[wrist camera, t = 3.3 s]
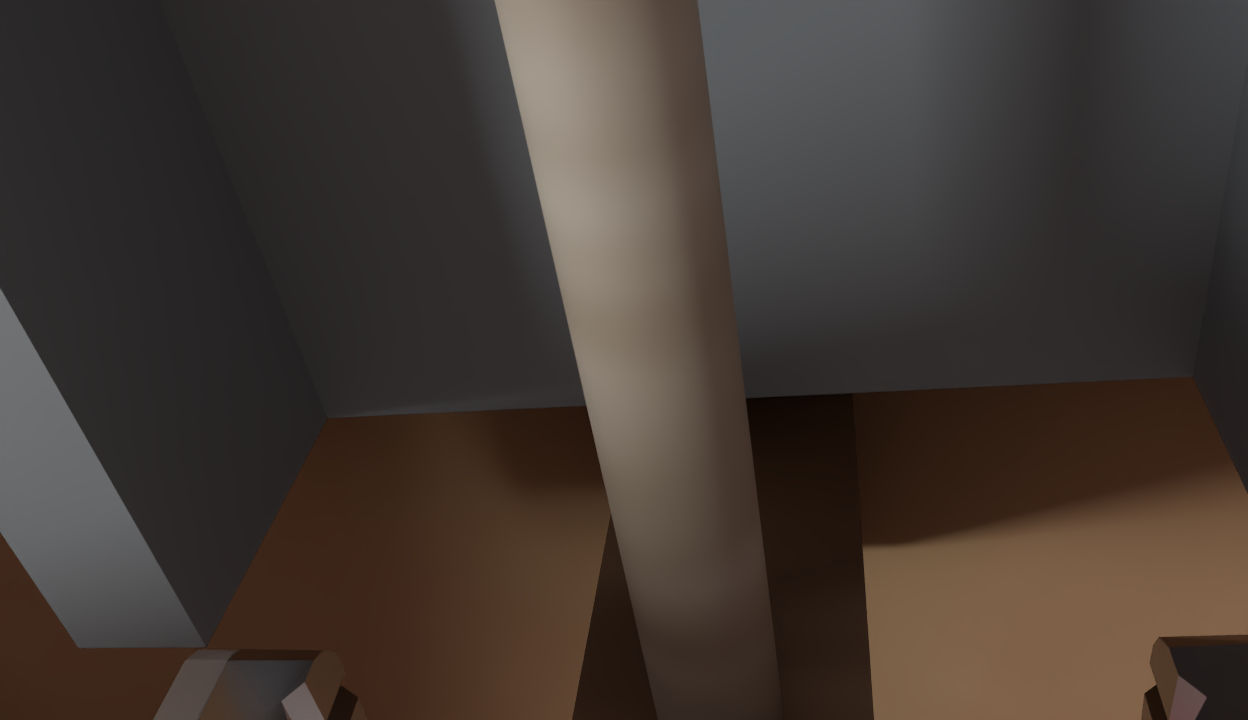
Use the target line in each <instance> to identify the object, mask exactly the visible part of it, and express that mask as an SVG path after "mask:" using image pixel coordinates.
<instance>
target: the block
mask: <svg viewBox="0 0 1248 720" xmlns="http://www.w3.org/2000/svg"><path fill="white" fill-rule="evenodd" d="M495 5H496V9H497V13H498V18H499V22H500V27H501V31H502V35H503V40H504V44H505V49H506V53H507V57H508V62H509V66H510V71H511V75H512V79H513V84H514V88H515V93H516V97H517V101H518V106H519V110H520V115H521V119H522V123H523V128H524V132H525V137H526V141H527V146H528V150H529V154H530V159H531V163H532V168H533V172H534V176H535V181H536V185H537V190H538V194H539V198H540V203H541V207H542V212H543V216H544V220H545V225H546V229H547V234H548V238H549V242H550V247H551V251H552V256H553V260H554V264H555V269H556V273H557V278H558V282H559V286H560V291H561V295H562V300H563V304H564V308H565V313H566V317H567V322H568V326H569V330H570V335H571V339H572V344H573V348H574V352H575V357H576V361H577V366H578V370H579V375H580V379H581V383H582V388H583V392H584V397H585V401H586V405H587V410H588V414H589V419H590V423H591V427H592V432H593V436H594V441H595V445H596V449H597V454H598V458H599V463H600V467H601V471H602V476H603V480H604V485H605V489H606V493H607V498H608V502H609V507H610V511H611V516H610V522H609V527H608V532H607V538H606V543H605V548H604V554H603V559H602V564H601V570H600V575H599V580H598V586H597V591H596V596H595V602H594V607H593V612H592V618H591V623H590V628H589V634H588V639H587V644H586V649H585V655H584V660H583V665H582V671H581V676H580V681H579V687H578V692H577V697H576V703H575V708H574V713H573V719H572V720H874V714H873V699H872V684H871V669H870V654H869V639H868V624H867V609H866V594H865V579H864V564H863V549H862V533H861V518H860V503H859V488H858V473H857V458H856V443H855V428H854V413H853V398H852V394H842V395H821V396H800V397H779V398H758V399H746V398H745V389H744V381H743V373H742V364H741V356H740V348H739V340H738V331H737V323H736V315H735V306H734V298H733V290H732V281H731V273H730V265H729V256H728V248H727V240H726V232H725V223H724V215H723V207H722V198H721V190H720V182H719V173H718V165H717V157H716V148H715V140H714V132H713V124H712V115H711V107H710V99H709V90H708V82H707V74H706V65H705V57H704V49H703V40H702V32H701V24H700V16H699V7H698V0H495Z"/></svg>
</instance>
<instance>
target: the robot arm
mask: <svg viewBox="0 0 1248 720" xmlns="http://www.w3.org/2000/svg"><path fill="white" fill-rule="evenodd" d="M1150 665H1151V669H1152V672H1153V675H1154V678H1155V681H1156V685H1155V686H1154V687H1152V688H1151V689H1150V690H1149V691H1147V692H1146V693H1145V694H1144V701H1143V709H1142V717H1141V719H1142V720H1248V635H1214V636H1177V637H1158V639H1157V640H1156V642H1155V643H1154V644H1153V648H1152V653H1151V659H1150ZM345 671H346V670H345V669H344V667H343V665H342V663H341V661H340V659H339V658H338V656H337V654H336V652H335V651H325V650H260V649H198V650H197V651H196V652H195V653H193V654H192V655H191V656H190V657H189V658H188V659H186V660H185V662H184V663H183V665H182V667H181V668H180V670H179V672H178V674H177V676H176V678H175V680H174V681H173V683H172V685H171V687H170V689H169V691H168V692H167V694H166V696H165V698H164V700H163V702H162V704H161V705H160V707H159V709H158V711H157V713H156V715H155V717H154V718H153V720H366V715H365V711H364V709H363V707H362V704H361V702H360V700H359V698H358V697H357V696H355V695H354V694H352V693H351V692H350V691H348V690H347V689H345V688H344V687H342V686H341V685H340V684H341V682H342V679H343V677H344V674H345Z"/></svg>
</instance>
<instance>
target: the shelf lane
mask: <svg viewBox="0 0 1248 720" xmlns="http://www.w3.org/2000/svg"><path fill="white" fill-rule="evenodd" d="M698 7H699V16H700V24H701V32H702V40H703V49H704V57H705V65H706V74H707V82H708V90H709V99H710V107H711V115H712V124H713V132H714V140H715V148H716V157H717V165H718V173H719V182H720V190H721V198H722V207H723V215H724V223H725V232H726V240H727V248H728V256H729V265H730V273H731V281H732V290H733V298H734V306H735V315H736V323H737V331H738V340H739V348H740V356H741V364H742V373H743V381H744V389H745V398H759V397H780V396H801V395H822V394H843V393H864V392H884V391H905V390H926V389H947V388H968V387H989V386H1010V385H1031V384H1052V383H1073V382H1094V381H1115V380H1136V379H1157V378H1178V377H1193V378H1194V381H1195V383H1196V385H1197V387H1198V389H1199V391H1200V393H1201V395H1202V398H1203V400H1204V402H1205V404H1206V406H1207V408H1208V410H1209V412H1210V415H1211V417H1212V419H1213V421H1214V423H1215V425H1216V427H1217V429H1218V431H1219V434H1220V436H1221V438H1222V440H1223V442H1224V444H1225V446H1226V448H1227V451H1228V453H1229V455H1230V457H1231V459H1232V461H1233V463H1234V465H1235V468H1236V470H1237V472H1238V474H1239V476H1240V478H1241V480H1242V482H1243V485H1244V487H1245V489H1246V491H1247V493H1248V0H698ZM570 406H587V405H586V401H585V397H584V392H583V388H582V383H581V379H580V375H579V370H578V366H577V361H576V357H575V352H574V348H573V344H572V339H571V335H570V330H569V326H568V322H567V317H566V313H565V308H564V304H563V300H562V295H561V291H560V286H559V282H558V278H557V273H556V269H555V264H554V260H553V256H552V251H551V247H550V242H549V238H548V234H547V229H546V225H545V220H544V216H543V212H542V207H541V203H540V198H539V194H538V190H537V185H536V181H535V176H534V172H533V168H532V163H531V159H530V154H529V150H528V146H527V141H526V137H525V132H524V128H523V123H522V119H521V115H520V110H519V106H518V101H517V97H516V93H515V88H514V84H513V79H512V75H511V71H510V66H509V62H508V57H507V53H506V49H505V44H504V40H503V35H502V31H501V27H500V22H499V18H498V13H497V9H496V5H495V0H0V533H1V534H2V535H3V537H4V538H5V540H6V541H7V543H8V544H9V546H10V547H11V549H12V550H13V552H14V553H15V555H16V556H17V558H18V559H19V561H20V562H21V564H22V565H23V567H24V568H25V570H26V571H27V572H28V574H29V575H30V577H31V578H32V580H33V581H34V583H35V584H36V586H37V587H38V589H39V590H40V592H41V593H42V595H43V596H44V598H45V599H46V601H47V602H48V604H49V605H50V607H51V608H52V610H53V611H54V612H55V614H56V615H57V617H58V618H59V620H60V621H61V623H62V624H63V626H64V627H65V629H66V630H67V632H68V633H69V635H70V636H71V638H72V639H73V641H74V642H75V644H76V645H77V647H78V648H189V647H207V645H208V643H209V641H210V639H211V637H212V636H213V634H214V632H215V630H216V628H217V626H218V624H219V622H220V620H221V619H222V617H223V615H224V613H225V611H226V609H227V607H228V605H229V603H230V602H231V600H232V598H233V596H234V594H235V592H236V590H237V588H238V586H239V585H240V583H241V581H242V579H243V577H244V575H245V573H246V571H247V569H248V567H249V566H250V564H251V562H252V560H253V558H254V556H255V554H256V552H257V550H258V549H259V547H260V545H261V543H262V541H263V539H264V537H265V535H266V533H267V532H268V530H269V528H270V526H271V524H272V522H273V520H274V518H275V516H276V515H277V513H278V511H279V509H280V507H281V505H282V503H283V501H284V499H285V497H286V496H287V494H288V492H289V490H290V488H291V486H292V484H293V482H294V480H295V479H296V477H297V475H298V473H299V471H300V469H301V467H302V465H303V463H304V462H305V460H306V458H307V456H308V454H309V452H310V450H311V448H312V446H313V445H314V443H315V441H316V439H317V437H318V435H319V433H320V431H321V429H322V428H323V426H324V424H325V422H326V420H327V418H340V417H361V416H382V415H403V414H424V413H445V412H466V411H487V410H507V409H528V408H549V407H570Z"/></svg>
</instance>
